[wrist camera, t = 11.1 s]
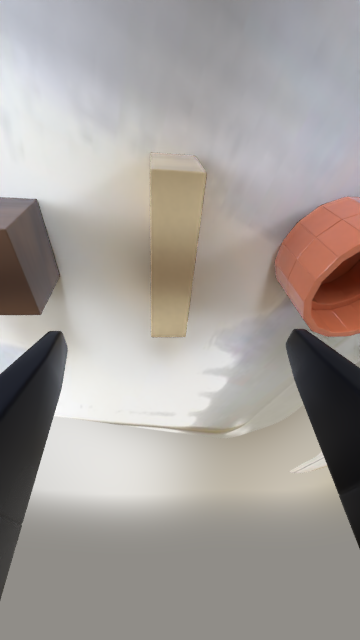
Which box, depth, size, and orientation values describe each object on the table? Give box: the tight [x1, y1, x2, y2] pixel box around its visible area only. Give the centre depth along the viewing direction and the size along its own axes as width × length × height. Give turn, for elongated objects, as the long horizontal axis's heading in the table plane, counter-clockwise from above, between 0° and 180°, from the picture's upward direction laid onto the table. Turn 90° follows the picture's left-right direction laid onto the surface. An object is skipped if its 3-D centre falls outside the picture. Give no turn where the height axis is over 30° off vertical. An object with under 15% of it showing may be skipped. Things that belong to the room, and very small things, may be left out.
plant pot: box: [275, 197, 360, 337], centre depth 17 cm, size 8×8×6 cm
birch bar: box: [150, 153, 207, 337], centre depth 16 cm, size 11×3×4 cm, turn 176°
